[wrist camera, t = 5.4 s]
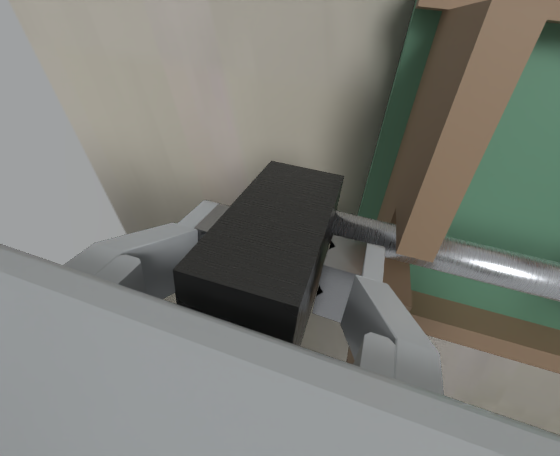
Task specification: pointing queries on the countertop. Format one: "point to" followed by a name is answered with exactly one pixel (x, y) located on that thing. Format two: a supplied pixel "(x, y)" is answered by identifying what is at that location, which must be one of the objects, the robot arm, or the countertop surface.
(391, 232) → the rod
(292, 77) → the countertop surface
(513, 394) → the countertop surface
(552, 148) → the pitch
